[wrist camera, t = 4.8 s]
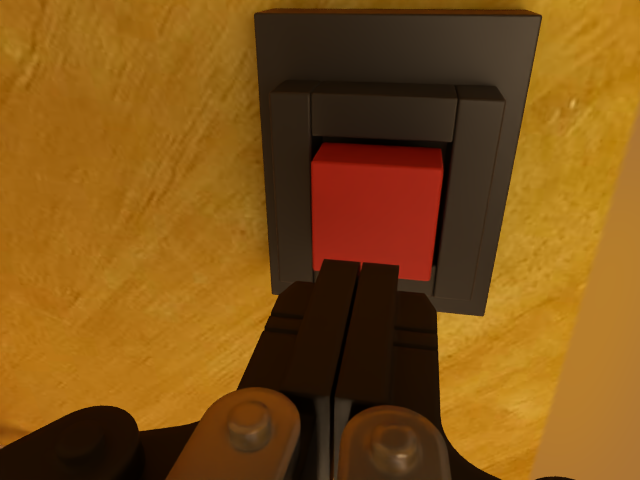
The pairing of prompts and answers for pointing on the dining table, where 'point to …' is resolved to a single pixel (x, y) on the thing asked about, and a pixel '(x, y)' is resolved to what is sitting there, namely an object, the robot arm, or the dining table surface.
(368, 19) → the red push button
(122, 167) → the dining table surface
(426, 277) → the red button cap
